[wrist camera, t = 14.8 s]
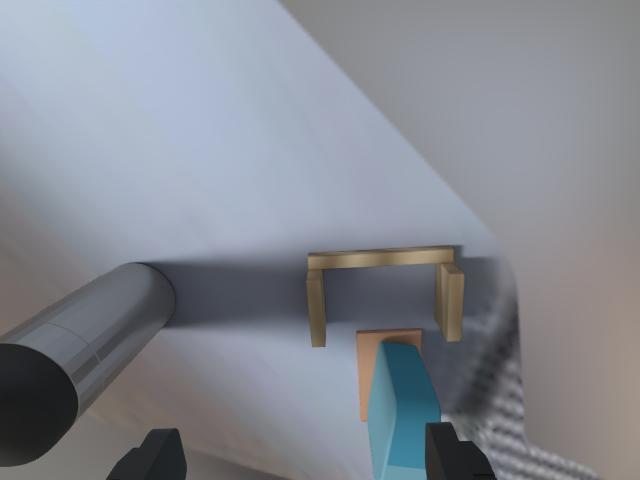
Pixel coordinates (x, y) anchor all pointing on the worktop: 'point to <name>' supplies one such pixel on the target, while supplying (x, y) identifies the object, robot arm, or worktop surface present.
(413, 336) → the terracotta pad
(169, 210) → the worktop surface
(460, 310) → the oak rack
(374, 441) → the blue flat block
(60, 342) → the robot arm
